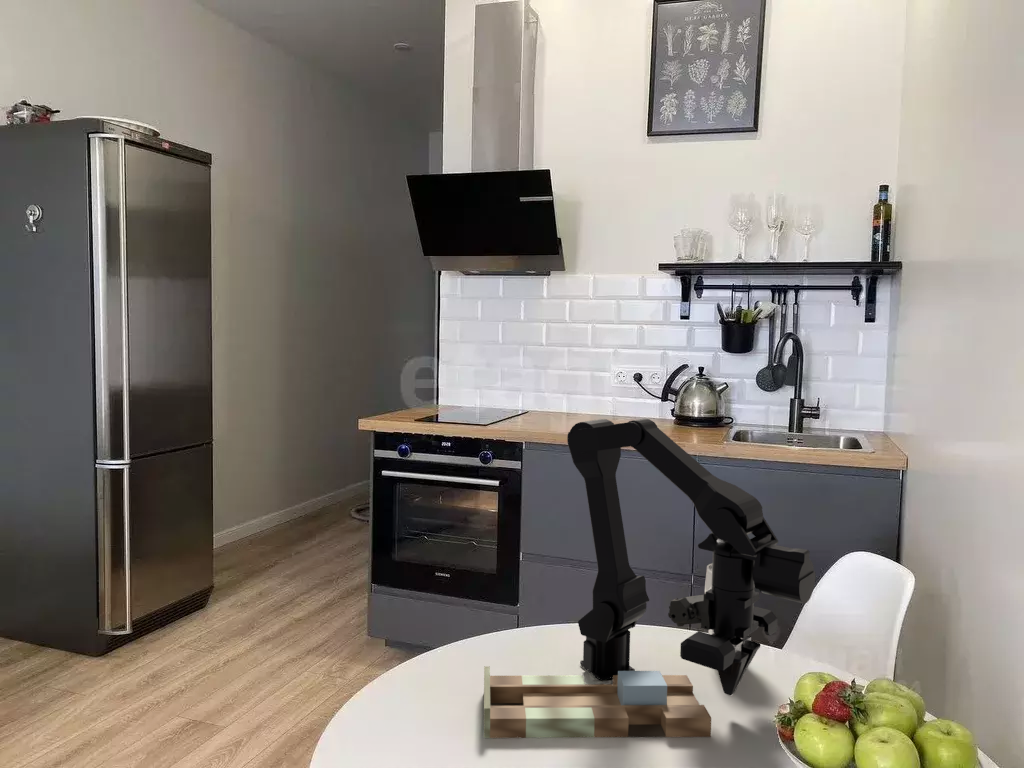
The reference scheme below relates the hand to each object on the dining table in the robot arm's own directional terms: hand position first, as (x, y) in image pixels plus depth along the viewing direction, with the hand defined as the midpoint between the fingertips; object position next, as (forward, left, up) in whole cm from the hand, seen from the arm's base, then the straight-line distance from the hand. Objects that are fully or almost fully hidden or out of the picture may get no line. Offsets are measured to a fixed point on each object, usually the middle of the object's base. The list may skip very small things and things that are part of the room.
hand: (728, 693), depth 108 cm
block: (+11, -5, -1) cm, 12 cm away
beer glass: (-12, -14, -3) cm, 19 cm away
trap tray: (+18, -7, -3) cm, 20 cm away
